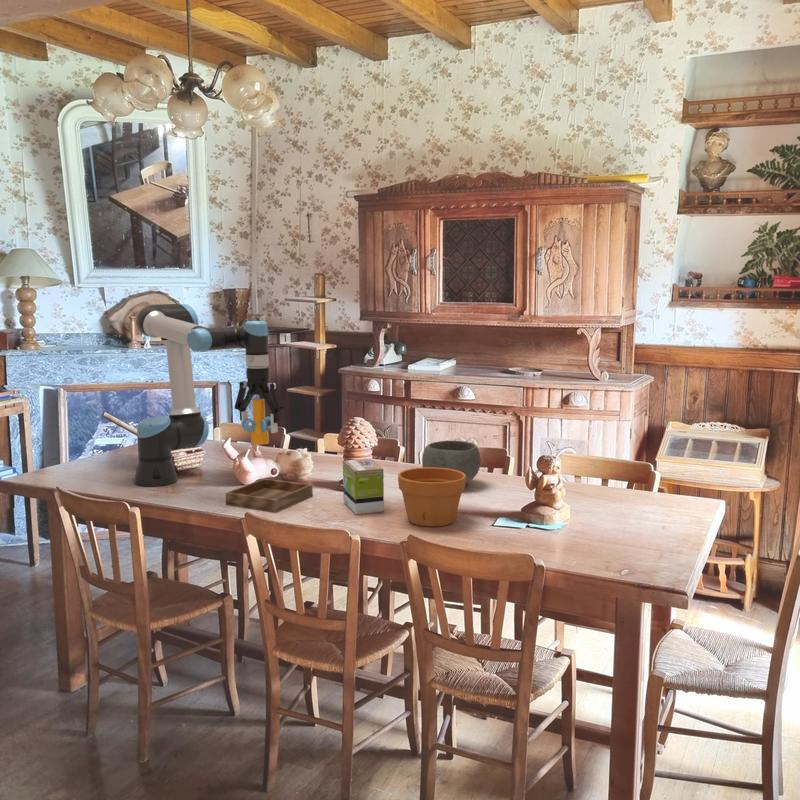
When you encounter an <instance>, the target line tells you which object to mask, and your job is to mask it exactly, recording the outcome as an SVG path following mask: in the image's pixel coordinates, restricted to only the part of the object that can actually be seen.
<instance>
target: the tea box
mask: <svg viewBox="0 0 800 800" xmlns="http://www.w3.org/2000/svg"><path fill="white" fill-rule="evenodd" d="M384 475H385V474H384V468H383V467H382V466H380V465H379V464H378V463H377V462H375V461H374V460H373V459H371V458H362V459H351V460H343V461H342V483H343V484H342V485H343V486H342V487H343V494H342V495H343V497H342V498H343V503H344V504H346V506H347V507H348V508H349V509H350V510H351V511H352V512H353V513H354V514H355V515H363V514H372V513H373V514H374V513H375V514H376V513H382V512H384V509H385V508H384V507H385V505H384V504H385V503H384V501H385V500H384V498H385V497H384V495H385V494H384V493H385V492H384V487H385V485H384V477H385V476H384Z"/></svg>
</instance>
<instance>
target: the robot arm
mask: <svg viewBox="0 0 800 800" xmlns="http://www.w3.org/2000/svg"><path fill="white" fill-rule="evenodd" d="M135 325H136V326H135V327H136V328H137V330H138V331H139V333H141V334H142V335H144V336H147V337H150V338H154V339H156V338H160V340H161V343H163V344H164V345H165V346H166V347H165V349H166V357H167V358H166V359H167V368H168V369H167V370H168V376H169V387H170V388H169V389H170V398H171V406H172V408H171V411H170V412H169V413H168V416H165V415H163V416H162V415H160V416H159V415H158V416H152V417H151V416H150V417H148V418H144V419H142V420H141V421H139V422H138V423H137V427H136V429H137V430H136V437H137V453H138V456H137V457H138V462H137V463H138V464H137V467H136V471H135V474H134V477H133V478H134V480H133V481H134V485H137V486H141V487H161V486H167V485H171V484H175V483H176V482H177V481H178V474H177V472H176V469H175V465H174V464H173V460H172V452H174V451H178V450H184V449H189V448H190V449H193V448H195V447H199V446H202V445H203V444H204V443H205V442H206V441H207V439H208V436H209V432H210V429H209V427H210V426H209V425H210V424H209V422H208V420H207V417H206V416H204V415H203V414H201V413H202V412H201V409H199V408H198V407H197V405H196V394H195V393H196V392H195V386H194V374H193V366H192V364H193V363H192V356H191V355H192V353H191V351H193V352H209V351H222V350H232V349H233V350H234V349H245V366H246V367H247V368H246V371H245V373H246V376H245V377H246V380H247V381H245V380H243V381H240V382H239V383H238V384H239V389H238V392H237V396H236V399H235V400H236V401H235V403H234V409H235V410H238V411H239V420H240V421H241V422H242V421H243V420H244V419H246V418H249V410H248V406H249V405H250V403H251V401H252V400H253V397H254V396H255V395H257V396H261V397H262V398H263V399H265V402H266V404H267V406H268V407H269V409H270V410H271V413H270V417H271V421H270V424H271V431H270V433H271V434H275V433H278V432H279V431H278V429H279V428H278V423H279V422H280V413H282V412H284V411H285V408H284V405H283V403H282V399H281V397H280V394H279V391H278V383H277V382H273V383H272V382H269V378H270V368H269V365H270V363H269V361H270V359H269V331H268V323H267V322H266V321H265V320H248V321H245V322H244V326H241V325H240V326H238V325H228V326H218V327H207V326H202V325H199V318H198V314H197V312H196V311H195V309H194V308H193V307H192V306H191V305H189V304H185V303H165V304H162V303H161V304H154V303H153V304H149V305H146V306H144V307H142V308H141V309H140V310H139V311H138V313H137V315H136V318H135ZM247 388H248V390H247ZM247 421H248V420H247ZM247 421H245V422H244V426H245V424H246V422H247ZM247 427H248V428H250V427H249V425H248V426H247ZM241 430H242V431H243V432H244V431H246V430H245V429H244V428H243V427H242V426H241Z"/></svg>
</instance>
